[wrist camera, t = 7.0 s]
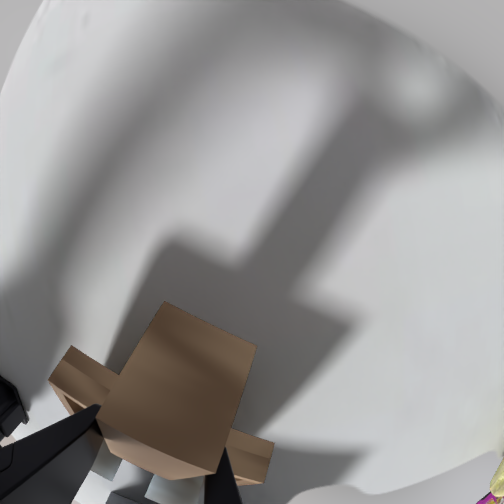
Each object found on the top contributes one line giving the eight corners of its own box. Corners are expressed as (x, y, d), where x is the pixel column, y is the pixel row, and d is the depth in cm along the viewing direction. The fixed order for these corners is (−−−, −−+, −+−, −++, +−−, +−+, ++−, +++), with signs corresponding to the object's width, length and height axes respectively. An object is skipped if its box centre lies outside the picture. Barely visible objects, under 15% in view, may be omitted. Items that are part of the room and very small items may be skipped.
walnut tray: (90, 404, 21) (63, 452, 16) (51, 234, 8) (-58, 352, 4) (214, 463, 21) (196, 515, 17) (375, 392, 9) (357, 547, 4)
